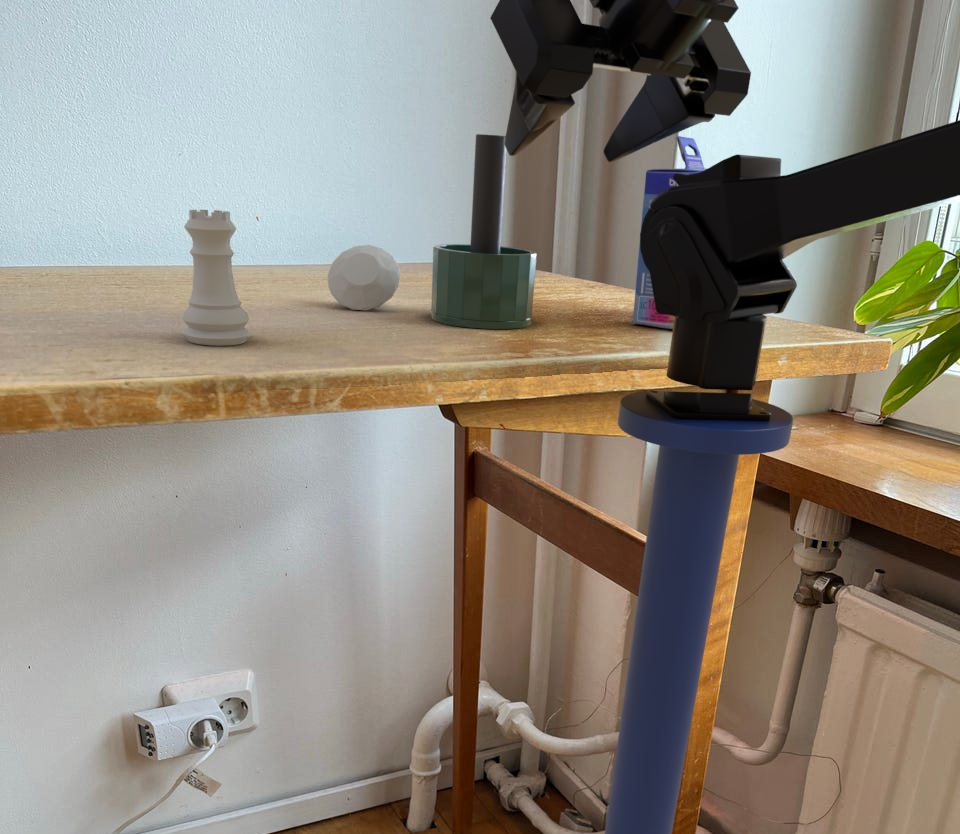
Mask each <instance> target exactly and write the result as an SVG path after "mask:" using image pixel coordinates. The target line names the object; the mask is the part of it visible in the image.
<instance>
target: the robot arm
mask: <svg viewBox="0 0 960 834" xmlns="http://www.w3.org/2000/svg"><path fill="white" fill-rule="evenodd" d="M589 3H590V4H591V6H592V8H593V9H597V10H599V12H600V14H601V16H600V17H599V19H598V25H593V24H587V23H582V21H581V19H580V17H579V15H578V13H577V11H576V9H575V6H574V4H573V2H572V0H498V3H497V4H496V6H495V8H494V10H493V12H492V13H491V15H490V18H489V19H490V21H491V23H492V25H493V27H494V28H495V30H496V33H497V36H498V37H499V40H500V42H501V43H502V45H503V48H504V49H505V52H506V54H507V56H508V58H509V60H510V62H511V64H512V66H513V68H514V70H515V79H514V80H515V81H514V90H513V95H512V101H511V105H510V110H509V116H508V121H507V127H506V133H505V136H506V137H505V147H506V149H507V150H506V152H507V153H508V155H509V156H512V157H515V156H517V155H518V154H520V152H522V151H524V149H526V148H527V147H528V146H530V145H531V144H532V143H533V142H534V141H536V140H537V138H538V137H540V136H541V135H542V134H544V132H545V131H547V130H548V129H549V128H550V127H551V126H552V125H554V123H556V122H557V120H559V119H560V118H562V116H563V115H565V114H566V113H567V112H568V111H570V109H571V108H573V107H574V105H575V104H576V102H575V99H574V97H573V96H572V95H573V94H575V93H577V92H579V91H581V90H583V89H584V88H585V86H586V84H587V83H588V82H589V80H590V78H591V77H592V75H593V72H594V69H599V70H600V69H601V70H607V71H613V72H622V73H629V74H636V75H643V76H646V77H645V81H644V83H643V85H642V86H641V88H640V90H639V91H638V93H637V94H636V96H635V97H634V99H633V101H632V102H631V103H630V105H629V107H628V108H627V110H626V111H625V113H624V114H623V116H622V117H621V119H620V120H619V122H618V124H617V125H616V126H615V128H614V130H613V131H612V132H611V135H610V137H609V139H608V140H607V142H606V145H605V146H604V148H603V154H604V157H605V159H606V161H607V162H608V163H615V162H617V161H619V160H621V159H623V158H625V157H628V156H630V155H632V154H634V153H636V152H637V151H640V150H642V149H644V148H646V147H648V146H650V145H653V144H655V143H657V142H659V141H662V140H663V139H667V138H668V137H670V136H673V135H675V134H678V133H680V132H682V131H685V130H687V129H689V128H691V127H695V126H697V125H699V124H701V123H709V122H711V121H712V120H714V118H715V117H716V115H718V116H727V117H730V116H731V115H732V114H733V113H734V112H735V110H736V109H737V108H738V106H740V104H741V103H742V102H743V101H744V99H745V98H747V96H748V94H749V88H750V82H751V77H752V71H751V70H750V68H749V66H748V64H747V63H746V60H745V58H744V57H743V55H742V53H741V51H740V49H739V48H738V46H737V44H736V41H735V40H734V38H733V36H732V35H731V33H730V30H729V29H728V27H727V25H726V24H728V23H729V22H730V20H731V19H732V18H733V16H734V15H736V12H737V11H738V10H739V6H738V4H737V2H736V0H589ZM705 169H706V170H704V171H702V172H699V173H695V174H681V173H676V174H674V176H673V179H674V180H675V182H676V183H677V184H678V186H676V187H672V188H669V189H667V190H665V191H663V192H662V193H660V194H658V195H657V196H656V197H655V198H654V199H653V200H652V201H651V203H650V208H649V210H648V212H647V213H646V215H645V217H644V219H643V224H642V228H641V227H640V233H639V245H640V250H641V254H642V257H643V261H644V264H645V265H646V267H647V269H648V270H649V272H650V277H651V283H652V289H653V295H654V301H655V307H656V311H657V313H659V314H666V315H672V316H675V318H674V325H673V329H672V331H671V332H672V334H671V341H670V348H669V355H668V361H667V369H666V377H667V379H670V380H671V381H674V382H677V383H680V384H685V385H689V386H695V387H698V388H700V389H703V390H720V391H721V390H722V391H753V389H754V386H755V385H756V381H757V374H758V369H759V364H760V358H761V354H762V353H761V352H762V348H763V342H764V336H765V330H766V325H767V320H768V319H767V318H768V317H767V316H766V315H771V314H782V313H783V312H784V311H785V310H786V307H787V306H788V304H789V303H790V300H791V298H792V297H793V294H794V293H795V291H796V289H797V287H798V281H797V280H796V278H795V276H794V275H793V273H792V272H791V270H790V269H789V267H788V266H787V264H786V263H785V260H784V259H786V258H787V257H789V256H791V255H793V254H794V253H796V252H797V251H799V250H801V249H802V248H804V247H806V246H807V245H809V244H811V243H813V242H815V241H818V240H821V239H824V238H827V237H831V236H835V235H839V234H842V233H847V232H851V231H854V230H858V229H862V228H866V227H868V226H873V225H876V224H879V223H884V222H887V221H892V220H894V219H898V218H903V217H905V216H909V215H914V214H918V213H921V212H925V211H928V210H932V209H933V210H934V209H937V208H939V207H945V206H947V205H951V204H954V203H959V202H960V119H959V120H955V121H953V122H950V123H946V124H943V125H939V126H937V127H934V128H930V129H928V130H924V131H921V132H918V133H915V134H911V135H909V136H905V137H902V138H900V139H896V140H893V141H889V142H886V143H884V144H880V145H877V146H874V147H871V148H867V149H864V150H862V151H857V152H855V153H852V154H849V155H846V156H842V157H839V158H835V159H833V160H830V161H827V162H823V163H821V164H818V165H817V164H816V165H815V166H812V167H808V168H805V169H802V170H799V171H795V172H791V173H790V174H784V175H782V158H780V157H769V156H758V155H747V154H737V153H736V154H734V155H732V156H729V157H727V158H724V159H722V160H720V161H719V162H717V163H715V164H713V165H711V166H710V167H708V168H705ZM646 391H647V393H646V398H648V399H649V400H650V401H652V402H653V403H654V404H655V405H657V406H658V407H659V408H661V409H662V410H663V411H665V412H666V413H667V414H669V415H670V416H671V417H673V418H675V419H683V420H730V421H769V420H770V416H771V414H770V413H769V412H767V411H765V410H764V409H762V408H760V407H759V406H757V405H755V404H754V403H752V399H754V398H753V397H754V393H746V392H745V393H744V392H709V391H708V392H707V391H705V392H702V391H671V390H670V391H667V390H646Z"/></svg>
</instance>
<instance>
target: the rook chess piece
mask: <svg viewBox="0 0 960 834" xmlns="http://www.w3.org/2000/svg"><path fill="white" fill-rule="evenodd" d="M210 213H211V214H210V215H209V210H208V209H199V210H198V209H189V210H188V215H189V218H188V219H187V221H186V223H185V224H184V226H183V228H184V229H185V230H186V232H187V234H189V236H190V237H191V240H192V248H190V250H189V254H190V255H191V256H192V260H193V261H192V263H193V274H192V275H193V276H192V289H191V295H190V299H188V300H187V303H188V307H186V309H185V310H184V311H183V313H182V319H181V320H182V321H183V322H184V324H186V325H187V327H186V328H185V329H184V330H183V331H182V335H183V336H184V337H185V339H186V340H187V341H188V342H190V343H191V344H195V345H203V346H217V347H218V346H219V347H220V346H221V347H222V346H223V347H224V346H236V345H241V344H242V345H243V344H244V343H246V342H247V341H248V339H249V337H250V336H251V332H250V331H249V330H248V329H247V328H245V327H246V325H247V324H248V323H249V319H250V318H249V316H248V313H247V312H246V310H245V309H244V308H243V307H242V306H241V305H242V301H241V300H240V299H239V297H238V294H237V290H236V285H235V279H234V273H233V266H232V257H233V256H234V254H235V252H234V251H233V250H232V247H231V239H232V237H233V236H234V234H235V232H236V230H237V227H236V225H235V224H234V223H233V221H232V220H231V212H230V211H228V210H226V211H224V210H220V209H219V210H218V209H217V210H216V209H214V210H213V211H211V212H210Z"/></svg>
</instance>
